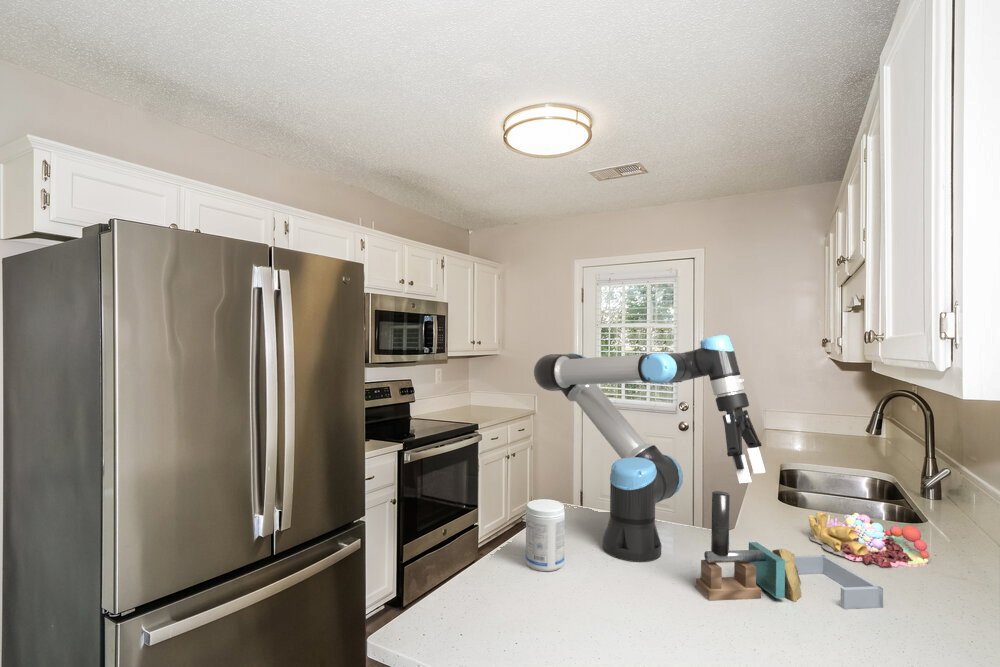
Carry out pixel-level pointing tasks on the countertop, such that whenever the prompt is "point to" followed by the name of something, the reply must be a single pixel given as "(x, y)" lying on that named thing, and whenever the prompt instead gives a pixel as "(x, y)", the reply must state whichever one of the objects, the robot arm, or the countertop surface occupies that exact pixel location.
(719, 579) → the rod stand
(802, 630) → the countertop surface
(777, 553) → the rock
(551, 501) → the supplement tub
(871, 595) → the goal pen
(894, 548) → the colorful coral reef
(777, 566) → the lever handle
